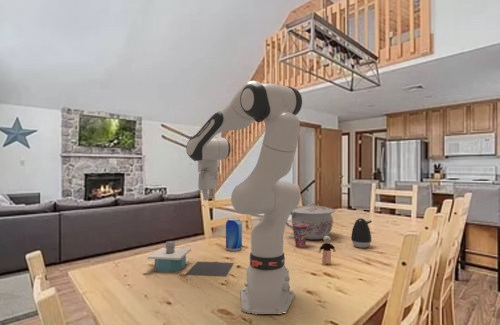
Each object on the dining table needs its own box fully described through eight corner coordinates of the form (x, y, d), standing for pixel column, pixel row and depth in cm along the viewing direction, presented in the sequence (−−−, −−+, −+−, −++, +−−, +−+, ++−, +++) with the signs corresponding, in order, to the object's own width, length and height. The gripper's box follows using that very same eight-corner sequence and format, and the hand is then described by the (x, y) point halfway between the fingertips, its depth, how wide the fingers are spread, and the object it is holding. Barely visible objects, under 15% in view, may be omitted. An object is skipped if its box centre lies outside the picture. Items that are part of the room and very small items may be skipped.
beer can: (222, 250, 164) (222, 219, 164) (231, 246, 171) (231, 217, 171) (236, 252, 160) (236, 220, 160) (244, 248, 168) (244, 218, 168)
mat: (226, 277, 125) (226, 276, 125) (184, 276, 127) (184, 274, 127) (234, 264, 142) (234, 262, 142) (197, 262, 144) (197, 261, 144)
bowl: (178, 273, 130) (178, 259, 130) (150, 272, 132) (150, 258, 132) (188, 264, 142) (188, 250, 142) (162, 263, 144) (162, 250, 144)
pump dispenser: (372, 250, 162) (372, 220, 162) (351, 248, 165) (350, 219, 165) (371, 245, 172) (371, 217, 172) (351, 243, 175) (351, 216, 175)
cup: (301, 249, 164) (301, 226, 164) (289, 246, 170) (289, 224, 170) (312, 246, 170) (312, 224, 170) (300, 243, 176) (300, 222, 176)
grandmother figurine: (321, 266, 138) (321, 237, 138) (317, 263, 142) (317, 235, 142) (337, 264, 140) (337, 236, 140) (333, 262, 144) (332, 234, 144)
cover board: (180, 259, 129) (180, 246, 129) (147, 258, 131) (147, 245, 131) (191, 250, 143) (191, 238, 143) (161, 249, 145) (161, 237, 145)
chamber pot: (341, 235, 196) (340, 201, 196) (327, 245, 172) (327, 207, 172) (298, 230, 210) (298, 199, 210) (281, 239, 186) (280, 204, 186)
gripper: (209, 167, 130) (209, 201, 130) (219, 167, 150) (220, 197, 150) (194, 168, 131) (194, 201, 130) (206, 168, 151) (207, 197, 151)
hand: (208, 199), depth 140 cm, fingers open, 8 cm apart
